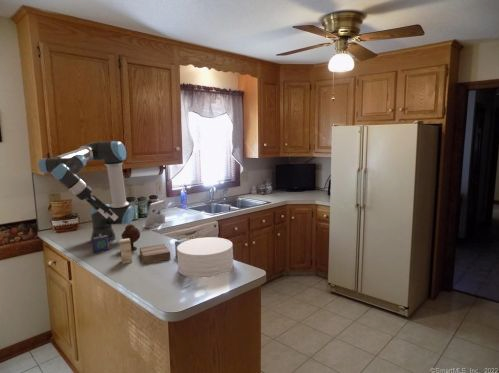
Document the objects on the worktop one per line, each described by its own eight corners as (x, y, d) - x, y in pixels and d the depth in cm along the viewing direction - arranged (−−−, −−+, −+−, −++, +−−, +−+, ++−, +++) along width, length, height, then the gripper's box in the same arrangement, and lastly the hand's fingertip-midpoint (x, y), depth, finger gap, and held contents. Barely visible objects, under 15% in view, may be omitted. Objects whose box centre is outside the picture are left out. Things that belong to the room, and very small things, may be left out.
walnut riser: (140, 254, 196) (139, 247, 196) (164, 250, 202) (164, 243, 202) (144, 263, 182) (143, 256, 182) (170, 258, 188) (170, 251, 187)
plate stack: (239, 258, 186) (238, 238, 184) (224, 280, 159) (223, 256, 157) (191, 255, 192) (190, 236, 191) (168, 276, 165) (167, 253, 164)
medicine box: (186, 252, 198) (185, 237, 197) (191, 253, 196) (190, 239, 194) (175, 256, 192) (174, 241, 191) (180, 257, 189) (179, 242, 188)
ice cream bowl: (118, 251, 203) (116, 226, 200) (131, 245, 213) (129, 222, 211) (133, 253, 199) (131, 228, 197) (145, 247, 209) (143, 223, 207)
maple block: (121, 260, 187) (119, 239, 185) (131, 259, 189) (129, 238, 187) (122, 263, 183) (120, 242, 181) (132, 262, 185) (130, 240, 183)
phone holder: (156, 221, 273) (155, 199, 270) (167, 222, 268) (165, 199, 266) (141, 226, 257) (139, 203, 254) (152, 228, 253) (150, 204, 250)
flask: (107, 248, 208) (106, 231, 206) (110, 249, 206) (108, 232, 204) (92, 253, 201) (90, 235, 199) (94, 254, 199) (93, 236, 198)
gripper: (69, 194, 179) (100, 220, 189) (81, 196, 160) (114, 225, 169) (80, 184, 182) (110, 210, 192) (93, 185, 163) (125, 214, 173)
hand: (112, 217), depth 181 cm, fingers open, 13 cm apart
